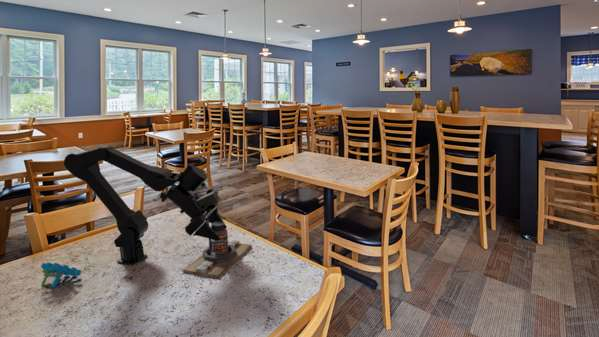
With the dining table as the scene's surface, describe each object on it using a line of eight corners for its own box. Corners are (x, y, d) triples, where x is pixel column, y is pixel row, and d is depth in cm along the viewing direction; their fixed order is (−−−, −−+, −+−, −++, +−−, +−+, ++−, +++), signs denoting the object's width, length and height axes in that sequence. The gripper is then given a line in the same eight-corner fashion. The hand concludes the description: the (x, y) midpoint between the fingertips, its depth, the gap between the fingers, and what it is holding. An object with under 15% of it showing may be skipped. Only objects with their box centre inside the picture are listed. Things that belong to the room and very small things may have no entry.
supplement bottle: (215, 262, 105) (213, 228, 103) (206, 256, 109) (204, 223, 107) (231, 256, 109) (230, 223, 107) (222, 250, 113) (221, 218, 111)
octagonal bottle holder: (182, 272, 101) (182, 263, 101) (221, 242, 122) (221, 235, 121) (217, 278, 97) (217, 269, 97) (251, 247, 118) (251, 239, 117)
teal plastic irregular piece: (90, 271, 99) (61, 259, 91) (81, 292, 96) (51, 282, 88) (61, 271, 102) (31, 260, 94) (52, 291, 99) (20, 282, 91)
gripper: (193, 191, 95) (233, 227, 97) (210, 176, 114) (244, 207, 116) (167, 217, 97) (208, 253, 99) (188, 199, 115) (222, 229, 117)
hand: (222, 233), depth 108 cm, fingers open, 9 cm apart
